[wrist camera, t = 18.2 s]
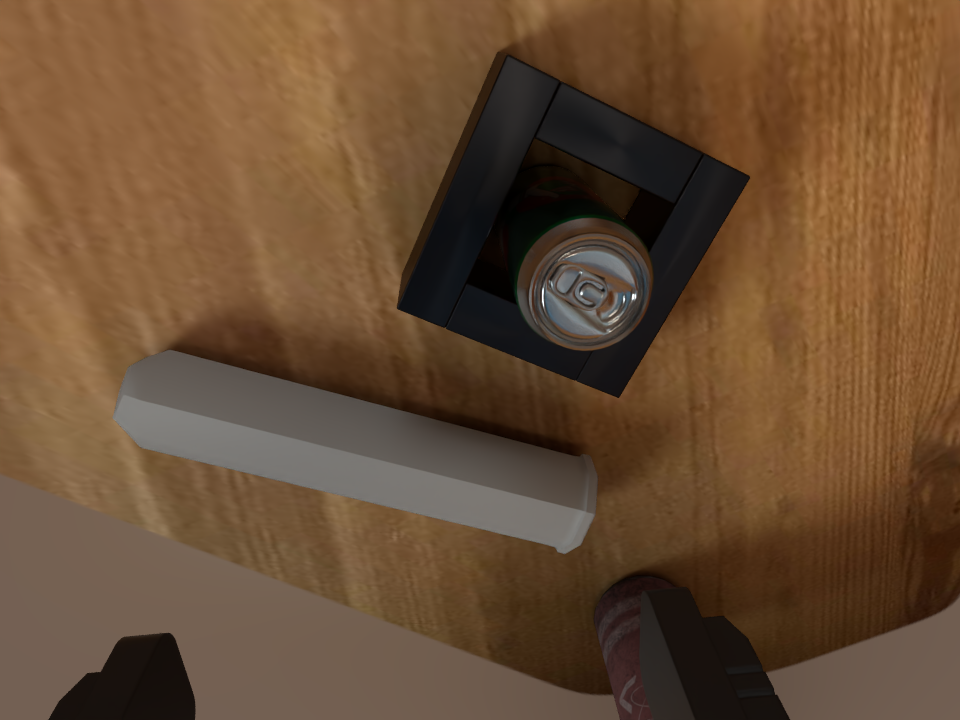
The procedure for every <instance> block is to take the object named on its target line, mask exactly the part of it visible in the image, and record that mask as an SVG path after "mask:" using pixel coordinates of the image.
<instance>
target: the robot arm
mask: <svg viewBox="0 0 960 720" xmlns="http://www.w3.org/2000/svg"><path fill="white" fill-rule="evenodd" d="M639 660H640V670H641V677H642V683H643V687H644V691H645V695H646V698H647V701H648V705H649V708H650V711H651V714H652V717H653V720H790V719H789V717H788V715H787V713H786V711H785V709H784V707H783V705H782V703H781V701H780V700H779V698H778V696H777V695H775V692H774V688H773V686H772V684H771V682H770V680H769V678H768V676H767V674H766V672H763V669H762V665H761V663H760V661H759V659H758V657H757V655H756V653H755V651H754V649H753V647H752V645H751V643H750V642H749V640H748V638H747V637H746V636H745V635H744V634H742V633H741V632H740V631H739V630H738V629H737V628H736V627H735V626H734V625H733V624H732V623H731V622H729V621H728V620H727V619H726V618H725V617H724V616H716V617H706V618H702V616H701V614H700V612H699V610H698V607H697V605H696V603H695V601H694V599H693V597H692V594H691V592H690V591H689V589H688V588H687V587H677V588H666V589H655V590H644V591H643V592H642V595H641V614H640V648H639ZM49 720H195V699H194V694H193V691H192V688H191V685H190V682H189V679H188V676H187V673H186V670H185V667H184V664H183V661H182V658H181V655H180V652H179V649H178V646H177V643H176V640H175V638H174V637H173V635H172V634H170V633H160V634H151V635H150V634H149V635H139V636H129V637H123V638H121V639H120V640H119V641H118V642H117V644H116V645H115V647H114V649H113V651H112V652H111V654H110V656H109V658H108V660H107V662H106V663H105V665H104V667H103V669H102V671H101V672H95V673H87V674H86V675H85V676H84V677H83V678H82V679H81V680H80V681H79V682H78V683H77V684H76V685H75V686H74V687H73V688H72V689H71V690H70V691H69V692H68V693H67V694H66V695H65V696H64V697H63V698H62V699H61V700H60V701H59V702H58V704H57V706H56V707H55V709H54V711H53V713H52V714H51V716H50V718H49Z"/></svg>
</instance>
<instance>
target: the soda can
mask: <svg viewBox="0 0 960 720" xmlns="http://www.w3.org/2000/svg"><path fill="white" fill-rule="evenodd" d="M494 226H495V232H496V235H497V238H498V242H499V245H500V249H501V252H502V255H503V259H504V262H505V265H506V269H507V272H508V276H509V279H510V282H511V286H512V289H513V293H514V296H515V299H516V303H517V306H518V309H519V311H520V313H521V315H522V317H523V319H524V321H525V322H526V323H527V324H528V326H529V327H530V328H531V329H532V330H533V331H534V332H535V333H536V334H537V335H538V336H540V337H542V338H543V339H545V340H546V341H548V342H551V343H553V344H555V345H558V346H562V347H565V348H569V349H573V350H581V351H587V350H596V349H602V348H605V347H608V346H610V345H612V344H614V343H617V342H619V341H620V340H621V339H623V338H624V337H626V336H627V335H628V334H629V333H630V332H632V331H633V330H634V329H635V327H636V326H637V325H638V324H639V323H640V321H641V319H642V318H643V316H644V314H645V312H646V310H647V307H648V305H649V301H650V297H651V293H652V289H653V280H654V273H653V264H652V260H651V256H650V254H649V252H648V249H647V247H646V246H645V244H644V243H643V241H642V240H641V238H640V237H639V236H638V235H637V234H636V233H635V232H634V231H633V230H632V229H631V228H630V227H629V226H628V225H627V224H626V223H625V222H624V221H623V220H622V219H621V218H620V217H619V216H618V215H617V214H616V213H615V212H614V211H613V210H612V209H611V208H610V207H609V206H608V205H607V204H606V203H605V202H604V201H603V200H602V199H601V198H600V197H599V196H598V195H597V194H596V193H595V192H594V191H593V190H592V189H591V188H590V187H589V186H588V185H587V184H586V183H585V182H584V181H583V180H582V179H581V178H580V177H578V176H577V175H576V174H574V173H573V172H571V171H569V170H567V169H564V168H561V167H557V166H539V167H534V168H531V169H528V170H526V171H524V172H522V173H520V174H518V175H517V176H516V178H515V180H514V182H513V184H512V187H511V189H510V191H509V193H508V195H507V197H506V199H505V201H504V204H503V206H502V208H501V210H500V212H499V214H498V216H497V219H496V221H495V223H494Z"/></svg>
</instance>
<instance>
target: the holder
mask: <svg viewBox="0 0 960 720" xmlns="http://www.w3.org/2000/svg"><path fill="white" fill-rule="evenodd" d="M534 137H535V138H536V139H538V140H540V141H542V142H544V143H546V144H548V145H550V146H552V147H555V148H557V149H559V150H561V151H563V152H565V153H567V154H569V155H571V156H573V157H575V158H577V159H580V160H582V161H584V162H586V163H588V164H590V165H592V166H594V167H596V168H598V169H600V170H602V171H605V172H607V173H609V174H611V175H613V176H615V177H617V178H619V179H621V180H623V181H625V182H627V183H629V184H632V185H634V186H636V187H638V188H640V189H642V190H641V192H640V194H639V195H638V197H637V199H636V201H635V203H634V205H633V207H632V208H631V210H630V212H629V214H628V216H627V218H626V220H625V221H624V222H625V223H626V224H627V225H628V226H629V227H630V228H631V229H632V230H633V231H634V232H635V233H636V234H637V235H638V236H639V237H640V238H641V240H642V241H643V243H644V244H645V246H646V247H647V249H648V252H649V254H650V256H651V260H652V264H653V273H654V280H653V289H652V293H651V297H650V301H649V305H648V307H647V310H646V312H645V314H644V316H643V318H642V319H641V321H640V323H639V324H638V325H637V326H636V327H635V329H634V330H633V331H632V332H630V333H629V334H628V335H627V336H626V337H624V338H623V339H621V340H620V341H619V342H617V343H614V344H612V345H610V346H608V347H605V348H602V349H596V350H587V351H581V350H573V349H569V348H565V347H562V346H558V345H555V344H553V343H551V342H548V341H546V340H545V339H543V338H542V337H540V336H538V335H537V334H536V333H535V332H534V331H533V330H532V329H531V328H530V327H529V326H528V324H527V323H526V322H525V321H524V319H523V317H522V315H521V313H520V311H519V309H518V306H517V303H516V299H515V296H514V293H513V289H512V286H511V282H510V279H509V276H508V272H507V271H505V270H503V269H501V268H498V267H496V266H494V265H491V264H489V263H487V262H484V261H482V260H480V259H478V257H479V255H480V253H481V251H482V248H483V246H484V244H485V242H486V240H487V238H488V236H489V233H490V231H491V229H492V227H493V225H494V223H495V221H496V219H497V216H498V214H499V212H500V210H501V208H502V206H503V204H504V201H505V199H506V197H507V195H508V193H509V191H510V189H511V187H512V184H513V182H514V180H515V178H516V176H517V174H518V172H519V169H520V167H521V165H522V163H523V161H524V159H525V157H526V154H527V152H528V150H529V148H530V146H531V144H532V142H533V140H534ZM749 179H750V176H749V175H747V174H745V173H743V172H741V171H739V170H737V169H735V168H733V167H731V166H729V165H727V164H725V163H723V162H721V161H719V160H717V159H715V158H713V157H711V156H709V155H707V154H705V153H703V152H701V151H699V150H697V149H695V148H693V147H691V146H689V145H687V144H685V143H683V142H681V141H679V140H677V139H675V138H673V137H671V136H669V135H667V134H665V133H663V132H661V131H660V130H658V129H656V128H654V127H652V126H650V125H648V124H646V123H644V122H642V121H640V120H638V119H636V118H634V117H632V116H630V115H628V114H626V113H624V112H622V111H620V110H618V109H616V108H614V107H612V106H610V105H608V104H606V103H604V102H602V101H600V100H598V99H596V98H594V97H592V96H590V95H588V94H586V93H584V92H582V91H580V90H578V89H576V88H574V87H572V86H570V85H568V84H566V83H564V82H562V81H560V80H558V79H557V78H555V77H553V76H551V75H549V74H547V73H545V72H543V71H541V70H539V69H537V68H535V67H533V66H531V65H529V64H527V63H525V62H523V61H521V60H519V59H517V58H515V57H513V56H511V55H509V54H505V53H501V52H497V54H496V56H495V58H494V61H493V63H492V65H491V68H490V70H489V72H488V75H487V77H486V79H485V82H484V84H483V86H482V89H481V91H480V93H479V96H478V98H477V100H476V103H475V105H474V107H473V110H472V112H471V114H470V117H469V119H468V121H467V124H466V126H465V128H464V131H463V133H462V135H461V138H460V140H459V142H458V145H457V147H456V149H455V152H454V154H453V156H452V159H451V161H450V163H449V166H448V168H447V170H446V173H445V175H444V177H443V180H442V182H441V184H440V187H439V189H438V191H437V194H436V196H435V198H434V201H433V203H432V205H431V208H430V210H429V212H428V215H427V217H426V219H425V222H424V224H423V226H422V229H421V231H420V233H419V236H418V238H417V240H416V243H415V245H414V247H413V250H412V252H411V254H410V257H409V259H408V261H407V264H406V266H405V268H404V271H403V273H402V277H401V284H400V290H399V297H398V303H397V309H398V310H401V311H403V312H406V313H408V314H411V315H413V316H416V317H418V318H421V319H423V320H426V321H428V322H431V323H433V324H436V325H438V326H441V327H443V328H445V327H446V329H448V330H450V331H453V332H455V333H458V334H460V335H463V336H465V337H467V338H470V339H472V340H475V341H477V342H480V343H482V344H485V345H487V346H490V347H492V348H495V349H497V350H500V351H502V352H505V353H507V354H510V355H512V356H515V357H517V358H520V359H522V360H525V361H527V362H530V363H532V364H535V365H537V366H540V367H542V368H545V369H547V370H550V371H552V372H555V373H557V374H560V375H562V376H565V377H567V378H570V379H572V380H575V381H577V382H580V383H582V384H585V385H587V386H590V387H592V388H595V389H597V390H600V391H602V392H605V393H607V394H610V395H612V396H615V397H617V398H619V397H620V395H621V394H622V392H623V390H624V389H625V387H626V385H627V384H628V382H629V380H630V379H631V377H632V375H633V374H634V372H635V370H636V369H637V367H638V365H639V363H640V362H641V360H642V358H643V357H644V355H645V353H646V352H647V350H648V348H649V347H650V345H651V343H652V342H653V340H654V338H655V337H656V335H657V333H658V332H659V330H660V328H661V327H662V325H663V323H664V322H665V320H666V318H667V317H668V315H669V313H670V312H671V310H672V308H673V306H674V305H675V303H676V301H677V300H678V298H679V296H680V295H681V293H682V291H683V290H684V288H685V286H686V285H687V283H688V281H689V280H690V278H691V276H692V275H693V273H694V271H695V270H696V268H697V266H698V265H699V263H700V261H701V260H702V258H703V256H704V255H705V253H706V251H707V249H708V248H709V246H710V244H711V243H712V241H713V239H714V238H715V236H716V234H717V233H718V231H719V229H720V228H721V226H722V224H723V223H724V221H725V219H726V218H727V216H728V214H729V213H730V211H731V209H732V208H733V206H734V204H735V203H736V201H737V199H738V198H739V196H740V194H741V193H742V191H743V189H744V187H745V186H746V184H747V182H748V181H749Z"/></svg>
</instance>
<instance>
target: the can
mask: <svg viewBox="0 0 960 720" xmlns="http://www.w3.org/2000/svg"><path fill="white" fill-rule="evenodd" d="M666 588H677V587H675V586H674V585H672V584H670V583H669V582H667V581H665V580H663V579H660V578H656V577H652V576H635V577H631V578H627V579H624V580H622V581H620V582H618V583H616V584H614V585H613V586H612V587H611V588H609V589H608V590H607V591H606V592H605V593H604V594H603V596H602V598H601V600H600V602H599V603H598V605H597V607H596V609H595V616H594V623H595V627H596V630H597V634H598V638H599V642H600V646H601V649H602V653H603V657H604V661H605V664H606V668H607V672H608V676H609V679H610V683H611V687H612V691H613V694H614V698H615V702H616V705H617V709H618V713H619V717H620V720H653V717H652V714H651V711H650V708H649V705H648V701H647V698H646V695H645V691H644V687H643V683H642V677H641V670H640V660H639V648H640V614H641V595H642V592H643V591H644V590H655V589H666Z"/></svg>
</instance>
